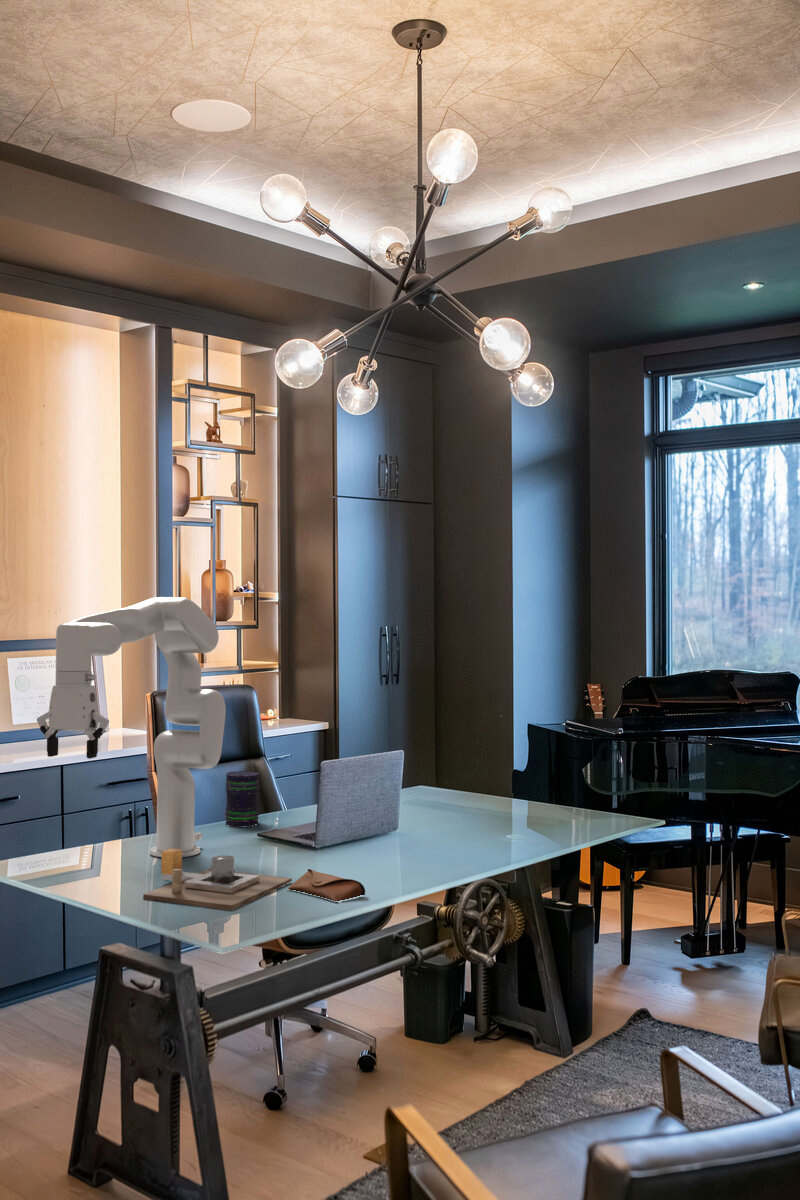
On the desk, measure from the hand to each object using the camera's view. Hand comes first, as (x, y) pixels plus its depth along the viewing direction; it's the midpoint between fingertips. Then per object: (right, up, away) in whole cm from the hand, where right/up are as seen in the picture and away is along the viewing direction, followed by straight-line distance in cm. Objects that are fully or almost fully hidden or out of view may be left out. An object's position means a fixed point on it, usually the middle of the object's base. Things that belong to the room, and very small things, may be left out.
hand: (72, 756), depth 234 cm
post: (+33, -29, +3) cm, 44 cm away
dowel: (+24, -29, -5) cm, 38 cm away
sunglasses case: (+56, -31, 0) cm, 63 cm away
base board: (+32, -30, +2) cm, 44 cm away
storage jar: (+26, -32, +80) cm, 90 cm away
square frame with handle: (+29, -29, +4) cm, 41 cm away
